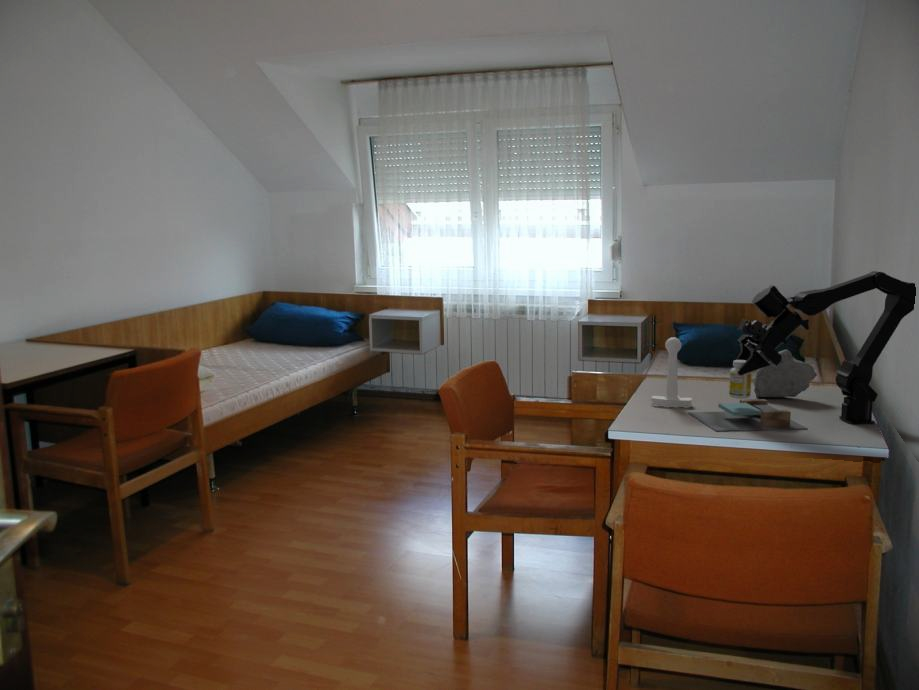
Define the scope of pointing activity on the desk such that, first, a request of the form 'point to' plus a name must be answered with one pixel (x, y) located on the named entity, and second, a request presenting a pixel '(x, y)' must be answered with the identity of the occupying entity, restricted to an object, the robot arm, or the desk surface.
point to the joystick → (672, 379)
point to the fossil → (783, 377)
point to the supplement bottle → (739, 381)
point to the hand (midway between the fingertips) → (735, 372)
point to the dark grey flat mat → (748, 419)
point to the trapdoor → (744, 408)
